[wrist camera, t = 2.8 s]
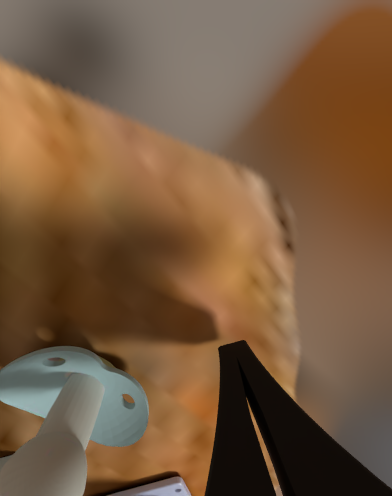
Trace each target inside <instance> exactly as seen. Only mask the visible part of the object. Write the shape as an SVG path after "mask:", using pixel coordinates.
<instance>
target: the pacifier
mask: <svg viewBox="0 0 392 496" xmlns="http://www.w3.org/2000/svg"><path fill="white" fill-rule="evenodd" d="M55 357H56V358H55ZM122 394H129V395H130V396H131V397H132V398H133V399H134V401H135V403H128V402H127V401H125V400H124V398H123V397H122ZM0 400H1V401H2V402H4V403H6V404H9V405H12V406H14V407H17V408H19V409H22V410H25V411H28V412H31V413H33V414H35V415H38V416H41V417H43V418H45V420H44V422H43V424H42V426H41V427H40V429H39V431H38V433H37V435H36V437H34V438H32V439H31V440H29V441H28V442H27V443H25V444H24V445H23V446H21V447H20V448H19V449H18V450H17V451H16V452H15V453H14V454H13V455H12V456H11V457H10V458H9V460H8V461H7V462H6V463H5V465H4V466H3V468H2V469H1V471H0V496H83V494H84V490H85V485H86V478H87V460H86V455H85V450H86V447H87V444H88V441H89V439H90V440H93V441H95V442H96V443H99V444H103V445H105V446H118V447H122V446H128V445H131V444H134V443H135V442H136V441H138V440H139V439H140V438H141V437H142V436H143V434H144V432H145V430H146V427H147V423H148V414H149V407H148V400H147V397H146V394H145V392H144V390H143V388H142V386H141V385H140V384H139V382H138V381H137V380H136V379H135V378H134V377H132V376H131V375H129V374H128V373H126V372H124V371H122V370H120V369H116V368H115V367H114V366H113V365H112V364H111V363H110V362H108V361H107V360H105V359H103V358H102V357H100V356H97V355H96V354H95V353H93V352H91V351H89V350H87V349H84V348H81V347H75V346H56V347H50V348H44V349H40V350H37V351H34V352H31V353H29V354H26V355H24V356H21V357H19V358H17V359H16V360H14V361H12V362H10V363H9V364H8V365H6V366H5V367H4V368H2V369H1V370H0Z"/></svg>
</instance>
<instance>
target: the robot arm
mask: <svg viewBox="0 0 392 496" xmlns="http://www.w3.org/2000/svg"><path fill="white" fill-rule="evenodd" d="M218 350H219V358H220V390H219V404H218V415H217V424H216V432H215V440H214V446H213V453H212V459H211V464H210V470H209V476H208V481H207V486H206V491H205V496H276V493H275V490H274V487H273V484H272V481H271V478H270V475H269V472H268V468H267V465H266V462H265V459H264V456H263V453H262V450H261V447H260V444H259V441H258V437H257V434H256V431H255V428H254V425H253V422H252V419H251V415H250V412H249V407H248V403H247V400H248V402H249V405H250V407H251V410H252V413H253V415H254V418H255V420H256V423H257V425H258V428H259V430H260V433H261V435H262V438H263V440H264V443H265V445H266V448H267V451H268V453H269V456H270V458H271V461H272V464H273V467H274V469H275V472H276V476H277V479H278V482H279V485H280V488H281V491H282V494H283V496H392V489H391V488H390V487H388V486H387V485H386V484H385V483H384V482H382V481H381V480H380V479H379V478H377V477H376V476H375V475H374V474H373V473H372V472H370V471H369V470H368V469H367V468H366V467H364V466H363V465H362V464H361V463H360V462H359V461H358V460H357V459H355V458H354V457H353V456H352V455H351V454H350V453H349V452H347V451H346V450H345V449H344V448H343V447H342V446H341V445H339V444H338V443H337V442H336V441H335V440H334V439H333V438H332V437H331V436H329V435H328V434H327V433H326V432H325V431H324V430H323V429H322V428H321V427H320V426H319V425H318V424H317V423H316V422H315V421H314V420H313V419H312V418H310V417H309V416H308V415H307V414H306V413H305V412H304V411H303V410H302V409H301V408H300V407H299V405H298V404H297V403H296V402H295V401H294V400H293V399H292V398H291V397H290V396H289V395H288V394H287V393H286V392H285V391H284V390H283V388H282V387H281V386H280V385H279V384H278V383H277V382H276V381H275V379H274V378H273V377H272V376H271V375H270V373H269V372H268V371H267V370H266V369H265V367H264V366H263V365H262V364H261V362H260V361H259V360H258V358H257V357H256V356H255V354H254V353H253V352H252V350H251V349H250V347H249V346H248V344H247V342H246V341H245V340H241V341H238V342H234V343H230V344H226V345H223V346H220V347H219V348H218ZM246 397H247V399H246ZM106 496H191V494H190V492H189V490H188V488H187V486H186V485H185V483H184V481H183V479H182V478H181V477H173V478H169V479H165V480H162V481H158V482H154V483H150V484H147V485H143V486H139V487H136V488H132V489H128V490H125V491H121V492H117V493H114V494H110V495H106Z"/></svg>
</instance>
